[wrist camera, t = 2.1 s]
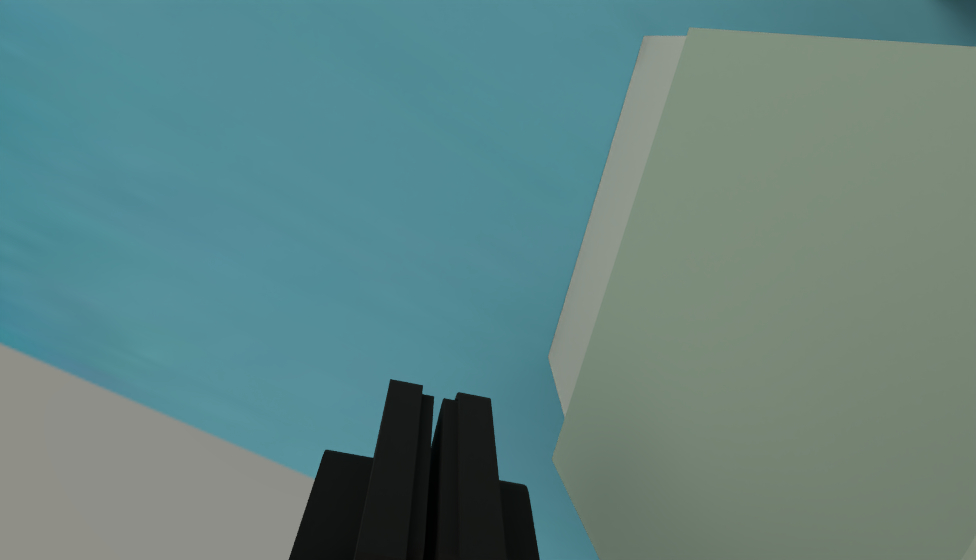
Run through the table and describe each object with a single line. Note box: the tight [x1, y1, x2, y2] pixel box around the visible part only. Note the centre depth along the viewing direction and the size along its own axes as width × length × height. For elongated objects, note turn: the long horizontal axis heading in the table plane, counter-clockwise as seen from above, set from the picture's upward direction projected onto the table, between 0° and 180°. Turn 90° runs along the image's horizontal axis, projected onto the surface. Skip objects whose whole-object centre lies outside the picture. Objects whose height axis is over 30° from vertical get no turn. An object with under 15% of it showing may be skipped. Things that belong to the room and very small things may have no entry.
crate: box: [548, 36, 687, 417], centre depth 29 cm, size 16×14×9 cm
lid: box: [552, 28, 976, 560], centre depth 17 cm, size 16×14×1 cm
